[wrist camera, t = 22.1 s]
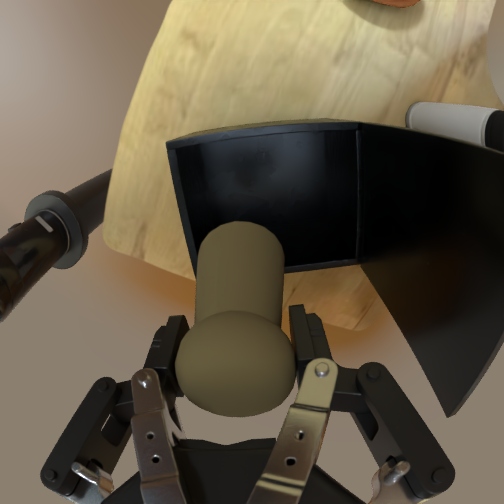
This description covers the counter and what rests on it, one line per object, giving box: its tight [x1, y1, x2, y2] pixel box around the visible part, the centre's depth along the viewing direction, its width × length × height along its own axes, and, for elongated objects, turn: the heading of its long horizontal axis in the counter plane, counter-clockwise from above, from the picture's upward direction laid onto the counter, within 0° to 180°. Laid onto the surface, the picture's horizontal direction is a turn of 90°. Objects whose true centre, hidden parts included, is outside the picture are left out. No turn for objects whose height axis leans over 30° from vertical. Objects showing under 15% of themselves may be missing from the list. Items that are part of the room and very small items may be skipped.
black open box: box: [166, 118, 364, 279], centre depth 31 cm, size 18×15×13 cm
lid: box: [360, 122, 504, 418], centre depth 16 cm, size 19×15×6 cm
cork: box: [175, 221, 297, 417], centre depth 15 cm, size 6×6×11 cm
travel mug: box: [406, 102, 504, 152], centre depth 23 cm, size 6×7×20 cm
